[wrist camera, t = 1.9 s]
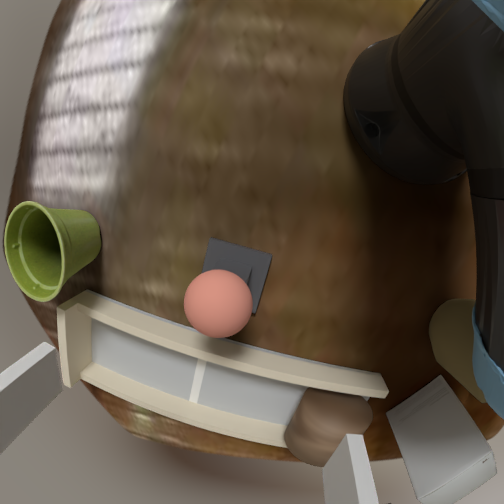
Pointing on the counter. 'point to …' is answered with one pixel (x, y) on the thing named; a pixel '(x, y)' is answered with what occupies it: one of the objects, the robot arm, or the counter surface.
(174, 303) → the counter surface
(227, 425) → the tray
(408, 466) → the supplement box
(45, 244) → the plant pot
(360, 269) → the counter surface
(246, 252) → the tee
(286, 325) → the counter surface
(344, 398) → the hump
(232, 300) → the ball
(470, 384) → the squeeze bottle
